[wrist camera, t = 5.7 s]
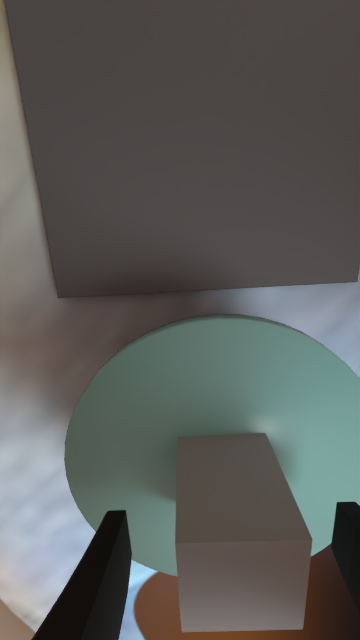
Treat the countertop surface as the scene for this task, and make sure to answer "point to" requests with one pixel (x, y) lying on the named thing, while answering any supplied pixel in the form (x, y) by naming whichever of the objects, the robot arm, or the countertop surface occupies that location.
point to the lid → (221, 461)
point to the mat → (193, 141)
